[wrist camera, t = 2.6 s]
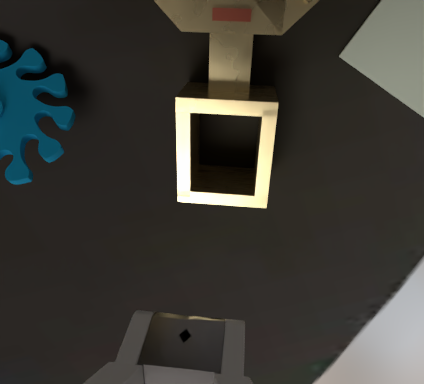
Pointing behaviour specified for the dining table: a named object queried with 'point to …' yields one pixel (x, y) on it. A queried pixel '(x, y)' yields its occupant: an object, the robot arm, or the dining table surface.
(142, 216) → the dining table surface
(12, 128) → the gear
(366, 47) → the pad
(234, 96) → the octagonal ring with loop
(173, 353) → the robot arm
